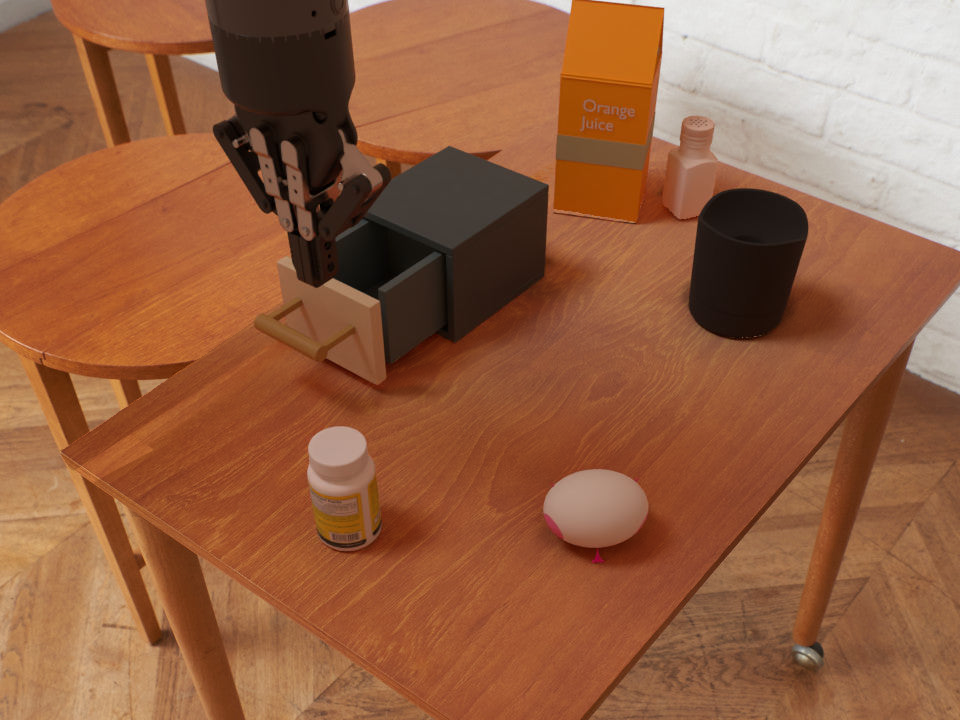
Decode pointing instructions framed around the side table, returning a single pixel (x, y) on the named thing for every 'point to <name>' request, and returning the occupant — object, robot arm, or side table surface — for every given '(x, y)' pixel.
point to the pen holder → (745, 261)
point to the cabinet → (471, 230)
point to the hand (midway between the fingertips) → (317, 279)
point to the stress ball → (595, 508)
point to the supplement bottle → (343, 489)
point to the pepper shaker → (691, 169)
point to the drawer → (364, 302)
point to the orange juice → (607, 107)
